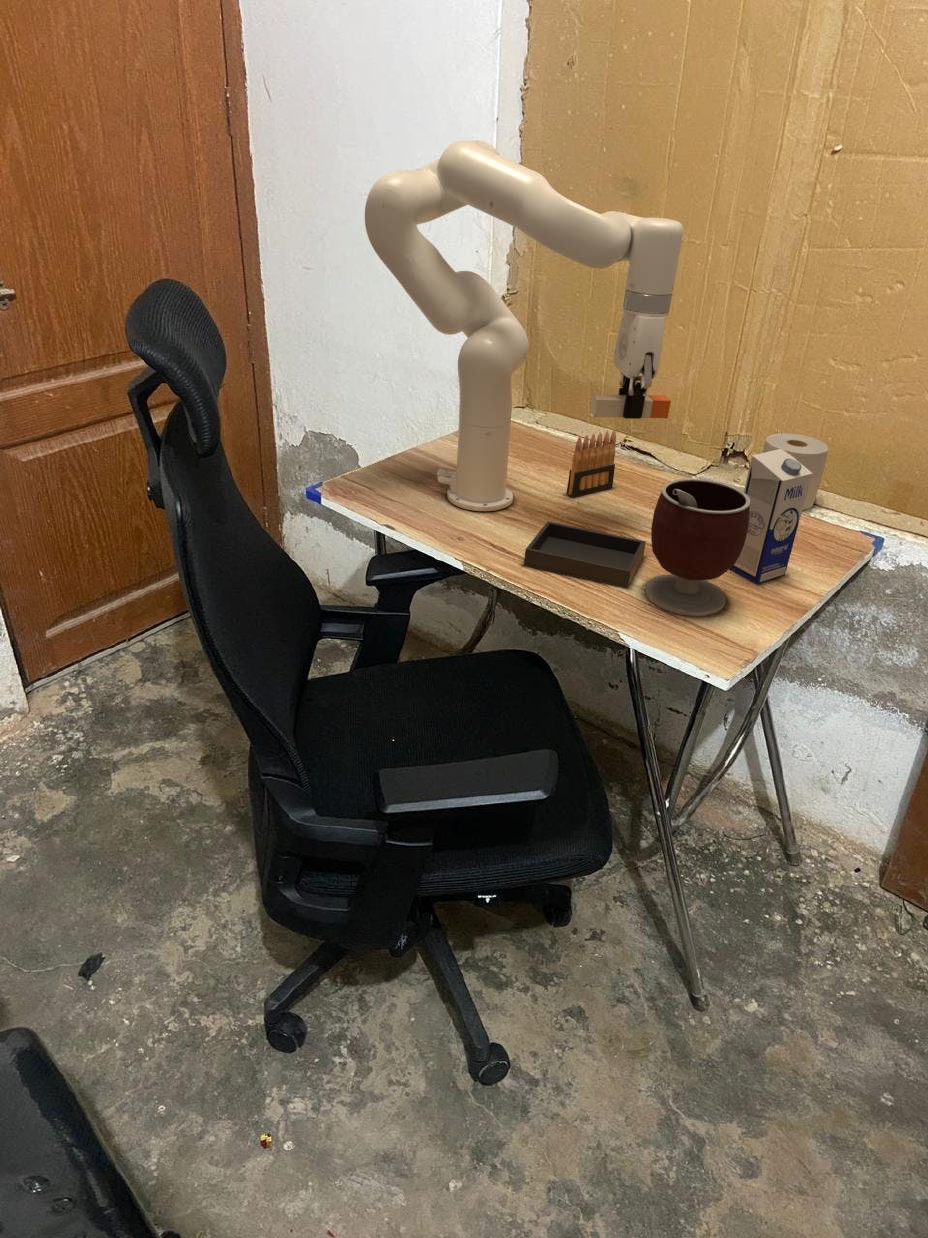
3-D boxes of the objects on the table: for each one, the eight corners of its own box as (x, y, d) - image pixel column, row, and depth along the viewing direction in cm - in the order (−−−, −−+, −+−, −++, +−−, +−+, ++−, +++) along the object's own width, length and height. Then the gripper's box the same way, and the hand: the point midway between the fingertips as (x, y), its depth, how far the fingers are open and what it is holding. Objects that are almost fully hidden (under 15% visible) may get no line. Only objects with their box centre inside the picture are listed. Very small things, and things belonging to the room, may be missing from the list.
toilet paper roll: (783, 484, 180) (797, 430, 174) (827, 506, 171) (843, 449, 165) (739, 491, 175) (751, 436, 169) (782, 514, 166) (797, 457, 160)
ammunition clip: (572, 497, 168) (579, 438, 162) (565, 494, 170) (572, 435, 164) (612, 488, 174) (621, 430, 168) (606, 485, 175) (614, 427, 169)
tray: (523, 565, 143) (525, 548, 141) (545, 536, 153) (547, 520, 151) (627, 588, 137) (630, 571, 136) (643, 556, 147) (646, 541, 146)
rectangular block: (594, 417, 146) (597, 399, 145) (589, 411, 149) (592, 393, 147) (667, 418, 148) (671, 400, 147) (661, 412, 151) (664, 394, 149)
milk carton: (754, 558, 149) (781, 447, 139) (785, 575, 144) (816, 460, 134) (725, 567, 145) (751, 453, 135) (756, 584, 141) (786, 468, 130)
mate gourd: (674, 567, 145) (696, 453, 134) (747, 599, 136) (776, 480, 126) (616, 595, 135) (635, 474, 125) (691, 632, 127) (718, 505, 116)
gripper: (609, 291, 145) (594, 399, 155) (640, 313, 132) (621, 430, 141) (652, 293, 147) (634, 400, 156) (687, 314, 133) (665, 430, 142)
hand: (628, 413), depth 148 cm, fingers closed on rectangular block, 3 cm apart
